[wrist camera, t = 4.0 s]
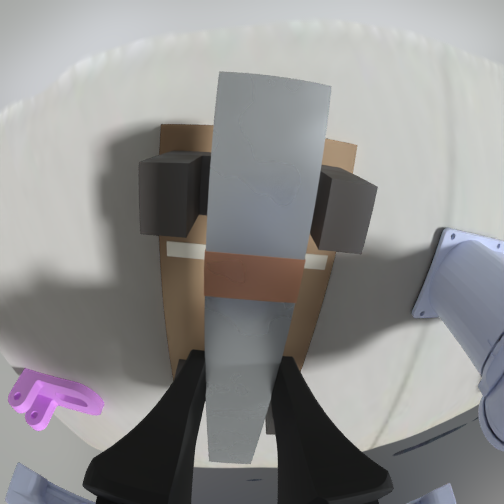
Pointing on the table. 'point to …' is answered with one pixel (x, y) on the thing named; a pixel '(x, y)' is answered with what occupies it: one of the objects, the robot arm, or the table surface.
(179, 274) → the board
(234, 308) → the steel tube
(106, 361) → the table surface
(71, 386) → the bracket
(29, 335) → the table surface
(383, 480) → the robot arm
